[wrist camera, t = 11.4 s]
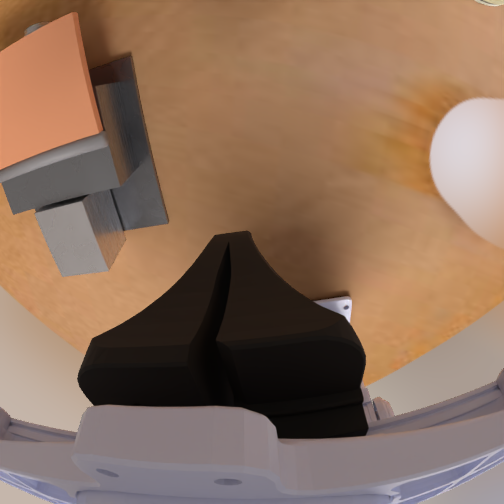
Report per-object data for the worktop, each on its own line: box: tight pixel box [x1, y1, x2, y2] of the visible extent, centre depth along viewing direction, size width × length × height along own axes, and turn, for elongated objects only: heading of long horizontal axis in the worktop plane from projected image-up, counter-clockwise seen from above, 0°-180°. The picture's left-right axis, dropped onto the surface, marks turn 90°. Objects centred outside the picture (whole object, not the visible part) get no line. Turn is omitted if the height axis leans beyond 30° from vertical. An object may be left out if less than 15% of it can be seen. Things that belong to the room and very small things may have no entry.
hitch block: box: [2, 56, 169, 231], centre depth 18 cm, size 12×11×4 cm
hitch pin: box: [24, 22, 126, 277], centre depth 16 cm, size 17×4×4 cm, turn 7°
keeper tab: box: [0, 12, 109, 183], centre depth 13 cm, size 8×9×1 cm
